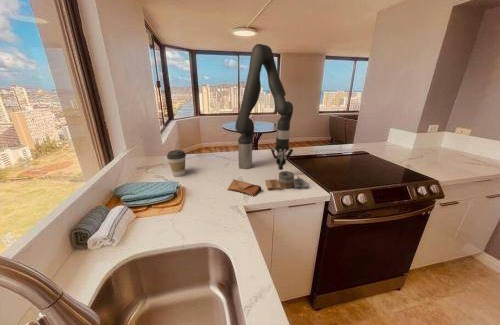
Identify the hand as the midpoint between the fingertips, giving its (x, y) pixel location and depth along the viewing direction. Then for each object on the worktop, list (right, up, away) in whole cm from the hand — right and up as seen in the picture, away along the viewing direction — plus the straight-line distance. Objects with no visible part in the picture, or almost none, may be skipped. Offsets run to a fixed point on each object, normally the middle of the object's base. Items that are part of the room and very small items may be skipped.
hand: (280, 164), depth 129 cm
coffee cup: (-64, -7, +5) cm, 65 cm away
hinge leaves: (+1, -12, -9) cm, 15 cm away
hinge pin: (0, -3, +1) cm, 3 cm away
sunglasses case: (-22, -15, -14) cm, 30 cm away
